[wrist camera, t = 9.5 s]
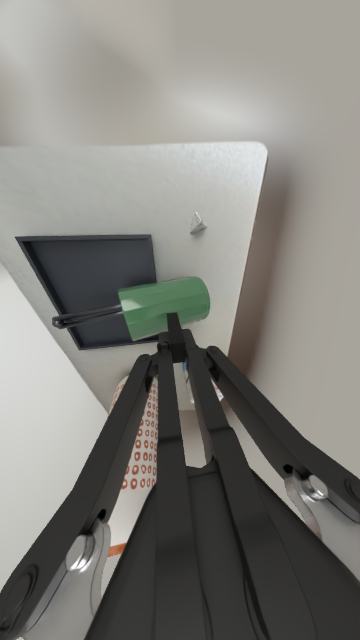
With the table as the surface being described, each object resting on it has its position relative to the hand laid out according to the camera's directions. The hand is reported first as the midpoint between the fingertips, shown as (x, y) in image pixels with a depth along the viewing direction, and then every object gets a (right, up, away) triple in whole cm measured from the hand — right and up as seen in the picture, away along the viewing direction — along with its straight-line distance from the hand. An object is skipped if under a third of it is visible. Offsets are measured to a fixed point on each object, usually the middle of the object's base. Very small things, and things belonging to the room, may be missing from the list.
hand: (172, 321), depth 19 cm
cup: (+5, +4, +8) cm, 10 cm away
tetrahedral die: (+5, +18, +5) cm, 19 cm away
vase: (-12, -20, +24) cm, 33 cm away
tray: (-14, +5, +9) cm, 17 cm away
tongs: (-9, +2, +6) cm, 11 cm away
